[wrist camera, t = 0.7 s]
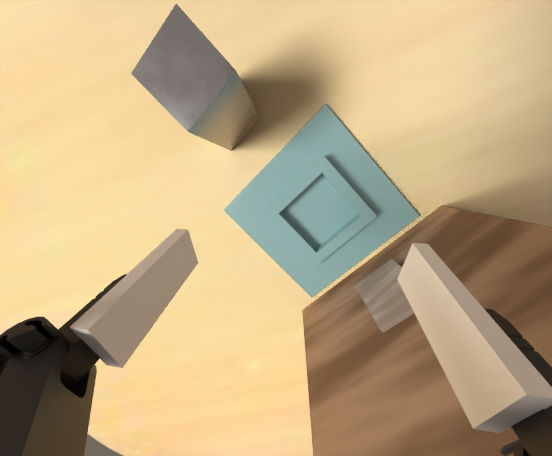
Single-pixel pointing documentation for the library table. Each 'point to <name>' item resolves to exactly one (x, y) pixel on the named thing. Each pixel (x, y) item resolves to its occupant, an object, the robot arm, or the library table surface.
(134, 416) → the library table surface
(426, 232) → the door panel
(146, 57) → the bar
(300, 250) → the socket
